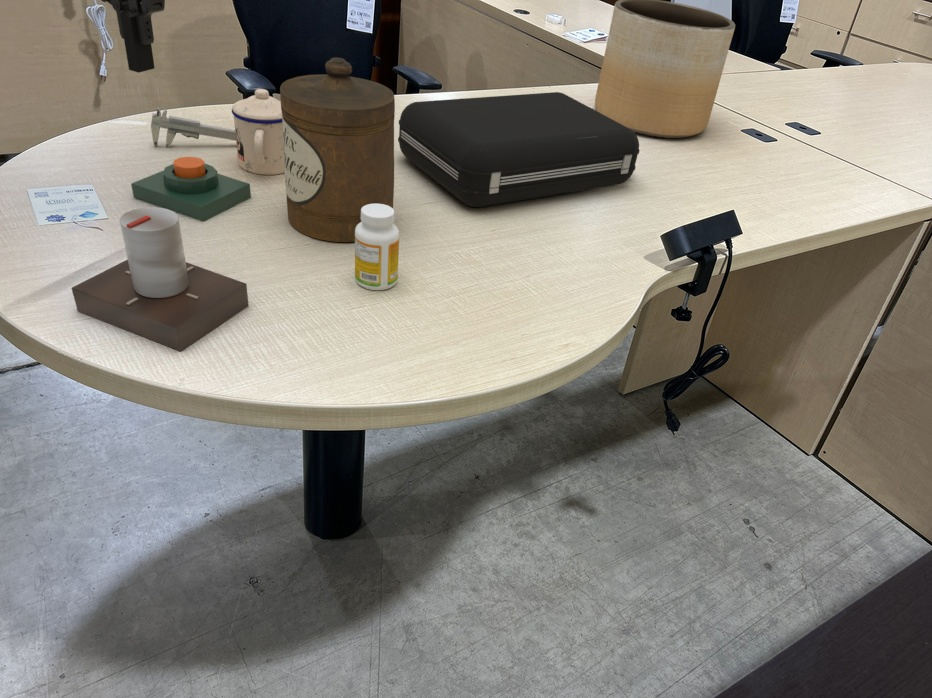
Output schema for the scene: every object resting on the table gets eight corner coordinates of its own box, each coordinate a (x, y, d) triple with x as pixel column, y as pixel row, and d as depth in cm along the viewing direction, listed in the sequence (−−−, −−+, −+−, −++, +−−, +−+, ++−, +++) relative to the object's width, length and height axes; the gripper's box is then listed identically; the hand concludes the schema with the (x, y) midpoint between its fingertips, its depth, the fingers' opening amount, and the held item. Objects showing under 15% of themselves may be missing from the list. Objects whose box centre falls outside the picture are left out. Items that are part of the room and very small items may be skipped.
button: (168, 174, 102) (166, 162, 101) (189, 166, 105) (187, 154, 104) (191, 182, 101) (190, 170, 100) (212, 173, 104) (210, 161, 103)
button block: (133, 198, 103) (128, 170, 100) (184, 176, 111) (181, 150, 108) (203, 222, 100) (200, 194, 98) (251, 197, 108) (248, 171, 105)
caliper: (154, 148, 117) (147, 108, 113) (154, 145, 118) (147, 106, 114) (286, 147, 125) (284, 110, 121) (285, 145, 125) (283, 108, 122)
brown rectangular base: (77, 311, 81) (70, 286, 79) (152, 270, 89) (148, 247, 87) (180, 351, 77) (176, 326, 75) (248, 305, 86) (246, 282, 84)
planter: (724, 144, 157) (759, 33, 144) (615, 138, 151) (640, 22, 137) (677, 105, 176) (704, 4, 163) (578, 98, 170) (597, -7, 156)
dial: (160, 267, 84) (148, 199, 79) (200, 282, 83) (190, 214, 78) (121, 288, 80) (106, 217, 75) (162, 303, 78) (149, 233, 73)
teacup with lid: (241, 152, 120) (234, 78, 113) (299, 156, 122) (295, 84, 115) (229, 181, 111) (221, 103, 104) (291, 186, 113) (287, 109, 106)
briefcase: (536, 127, 150) (543, 76, 144) (639, 188, 131) (653, 133, 125) (374, 143, 131) (375, 85, 125) (466, 217, 112) (473, 154, 106)
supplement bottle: (388, 267, 97) (390, 198, 91) (403, 288, 93) (407, 217, 88) (349, 273, 95) (348, 202, 89) (363, 294, 91) (363, 222, 85)
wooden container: (281, 199, 109) (270, 40, 95) (379, 196, 114) (383, 45, 101) (295, 246, 98) (286, 75, 85) (403, 240, 103) (411, 79, 90)
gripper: (28, -175, 77) (76, 62, 91) (129, -152, 74) (162, 88, 88) (86, -171, 82) (123, 51, 97) (182, -149, 80) (205, 75, 94)
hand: (141, 68), depth 92 cm, fingers closed
